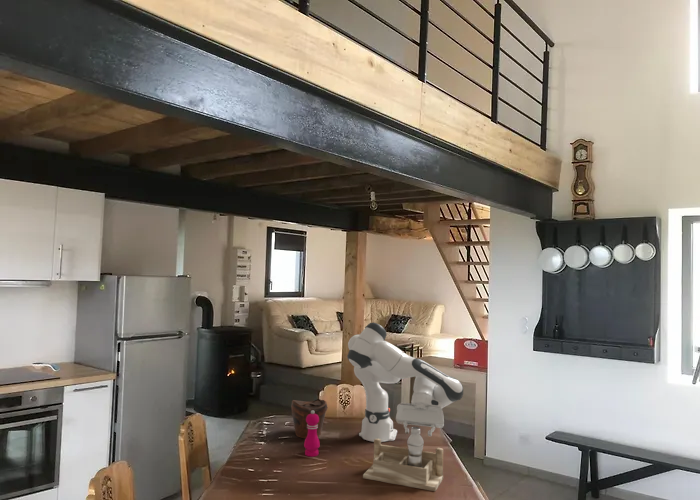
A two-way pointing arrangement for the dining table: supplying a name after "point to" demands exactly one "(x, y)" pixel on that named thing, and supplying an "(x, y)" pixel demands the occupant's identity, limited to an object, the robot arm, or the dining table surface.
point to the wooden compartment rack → (405, 467)
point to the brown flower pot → (303, 409)
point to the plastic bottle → (415, 447)
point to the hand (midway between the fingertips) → (418, 434)
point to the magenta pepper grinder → (312, 435)
